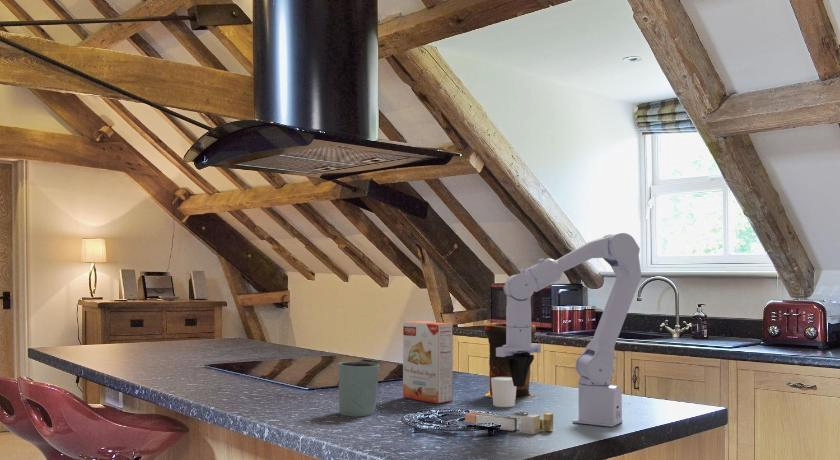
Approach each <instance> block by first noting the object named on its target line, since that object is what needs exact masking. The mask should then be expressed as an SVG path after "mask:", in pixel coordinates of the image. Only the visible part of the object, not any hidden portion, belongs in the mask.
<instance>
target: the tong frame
mask: <svg viewBox="0 0 840 460" xmlns="http://www.w3.org/2000/svg"><path fill="white" fill-rule="evenodd" d="M509 416H510V417H511V418H519V419H520V433H521V434H528V435H535V434H538V433H540V432H541V430H540V418H541V415H540V414H532V413H529V412H526V411H521V412H515V413H512V414H510V415H509ZM511 418H502V417H493V416H485V415H477V414H470V413H466V414H464V422H465V421H466V422H473V423H494V424H500V425H501V428H500V429H499V430H502V431H512V432H513V431H515V429H514V419H511Z"/></svg>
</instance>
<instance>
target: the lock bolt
mask: <svg viewBox="0 0 840 460" xmlns="http://www.w3.org/2000/svg"><path fill="white" fill-rule="evenodd" d="M541 431H543V432H552V431H554V413H553V412H545V413H543V418H541V417H540V432H541Z"/></svg>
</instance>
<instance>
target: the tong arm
mask: <svg viewBox="0 0 840 460" xmlns="http://www.w3.org/2000/svg"><path fill="white" fill-rule="evenodd" d="M469 414H477V415H485V416H493V417H502V418H511V417H510V415H502V414H501V415H500V414H490V413H485V412H484V413H483V412H475V411H472V412H470V413H469ZM511 419H514V430H518V429H519V428H520V427H519V425H520V424H519V423H520V420H519V418H511Z"/></svg>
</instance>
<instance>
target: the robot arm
mask: <svg viewBox="0 0 840 460" xmlns="http://www.w3.org/2000/svg"><path fill="white" fill-rule="evenodd" d="M640 248H641V247H639V244H638V243H637V241H636V240H635V239H634V237H633V236H632V235H631V234H629V233H625V232H618V233H615V234H607V235H606V234H605V235H604V236H602V237H598V238H596V239H593V240H590V241H588V242H586V243H585V244H583V245H581V246H579V247H577V248H576V249H574V250H572V251H570V252H568V253H566V254H565V255H563V256H561V257H560V258H558V259H553V258H551V257H550V258H549V257H547V258H546V259H545V258H544V257H543V258H539V259H538V260H537V263H536V264H534V265H532V266H530V267H528V268H522V269H520V270H519V272H520V273H517V274H512V275H510V276H509V277H508V278H507V279H506V281H505V283H504V286H503V287H502V289H503V292H504V294H505V295H506V305H505V306H506V307H505V310H506V311H505V316H506V318H505V319H506V320H505V321H506V322H505V323H506V326H507V327H506V345H503V347H499V348H496V356H498V357H504V360H505V362H506V363H507V365H508V367H509V370H510V373H511V377H512V381H513V385H514V386H516V387H524V385H525V381H526V377H527V373H528V370H529V367H530V368H531V366H532V363H533V361H534V360H535V355H534V354H533V353H537V354H538V353H541V352H542V351H541V343H532V344H531V325H532V306H531V299H532V295H534V292H535V293H537V292H539V291H541V290H543V289H545V288H547V287H549V286H551V285H553V284H555V283H556V282H559V281H560V280H561V278H562V275H563V273H564V272H566V271H568V270H570V269H573V268H574V267H576V266H579V265H581V264H583V263H586V262H587V261H590V260H591V259H592V260H593V259H603V260H604V261H605V263H607V264H608V265H610V267H611V269H612V271H613V273H614V275H615V277H616V278H615V281H614V283H613V286H612V288H611V291H610V294H609V295H608V298H607V301H606V304H605V306H604V309H603V311H602V314H601V315H600V316H601V317H600V319H599V321H598V324H597V327H596V330H595V332H594V335H593V338H592V339H591V340H590V342H588V343H587V345H586V346H585V349H584V351H583V353H581V354H580V355H579V356H578V357H577V359H576V362H575V369H576V372H577V374H578V376H580V377H579V378H578V381H577V382H578V391H577V392H578V417H577V418H575V419H573V420H572V423H573V424H574V423H575V424H582V425H583V424H585V425H590V426H591V425H593V426H601V427H611V428H612V427H615V426H617V425H618V424H620V423H623V422H624V421H623V416H622V415H623V412H622V411H623V407H622V403H623V397H622V395H623V394H622V389H621V387H620V386H619V385H613V384H611V379H612V377H613V375H614V371H615V370H614V361H615V358H616V352H615V351H616V349H615V347H616V343H617V340H618V339H619V336H620V333H621V330H622V328H623V325H624V323H625V320H626V317H627V315H628V312H629V310H630V308H631V304H632V302H633V299H634V297H635V294H636V292H637V289H638V287H639V284H640V280H641V279H642V270H641V262H640V251H641V250H640ZM517 351H522V352H517ZM512 352H514V353H512ZM529 353H530V355H529Z"/></svg>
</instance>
